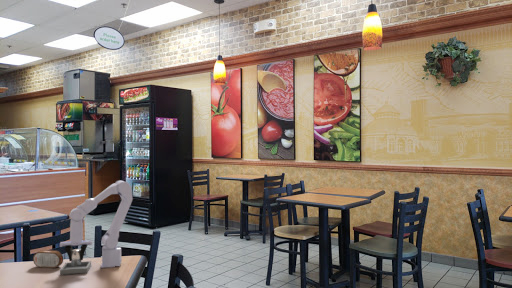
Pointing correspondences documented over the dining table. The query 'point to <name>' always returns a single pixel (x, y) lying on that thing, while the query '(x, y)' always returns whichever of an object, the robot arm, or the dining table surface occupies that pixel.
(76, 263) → the handled mug
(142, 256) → the dining table surface
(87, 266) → the parts tray
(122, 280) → the dining table surface
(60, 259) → the tin
